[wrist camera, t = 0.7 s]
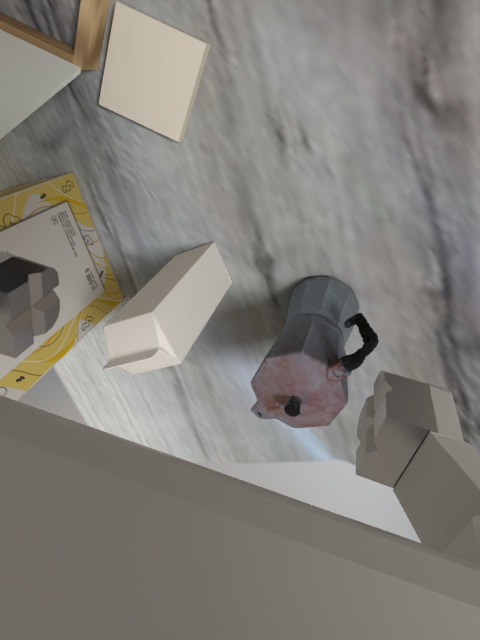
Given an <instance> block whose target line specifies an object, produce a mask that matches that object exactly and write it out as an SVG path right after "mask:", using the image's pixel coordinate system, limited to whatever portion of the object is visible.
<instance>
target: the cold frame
mask: <svg viewBox="0 0 480 640" xmlns="http://www.w3.org/2000/svg"><path fill="white" fill-rule="evenodd" d="M109 1H110V0H81V4H80V11H79V19H78V26H77V34H76V41H75V48H73V47H71V46H69V45H67V44H65V43H63V42H61V41H59V40H56V39H54V38H52V37H50V36H48V35H46V34H44V33H42V32H40V31H38V30H35V29H33V28H31V27H29V26H27V25H25V24H23V23H21V22H19V21H16V20H14V19H12V18H10V17H8V16H6V15H4V14H2V13H0V29H1V30H3V31H5V32H7V33H9V34H11V35H13V36H15V37H18V38H20V39H22V40H24V41H26V42H28V43H30V44H32V45H34V46H36V47H39V48H41V49H43V50H45V51H47V52H49V53H51V54H53V55H55V56H58V57H60V58H62V59H64V60H66V61H68V62H70V63H72V64H74V65H76V66H79V67H81V70H98V68H99V62H100V56H101V50H102V44H103V37H104V31H105V25H106V19H107V13H108V7H109Z"/></svg>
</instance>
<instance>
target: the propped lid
mask: <svg viewBox="0 0 480 640" xmlns="http://www.w3.org/2000/svg"><path fill="white" fill-rule="evenodd" d="M80 73H81V67H79V66H76V65H74V64H72V63H70V62H68V61H66V60H64V59H62V58H60V57H58V56H55V55H53V54H51V53H49V52H47V51H45V50H43V49H41V48H39V47H36V46H34V45H32V44H30V43H28V42H26V41H24V40H22V39H20V38H18V37H15V36H13V35H11V34H9V33H7V32H5V31H3V30H1V29H0V139H1V138H3V137H4V136H5V135H6V134H8V133H9V132H10V131H11V130H12V129H14V128H15V127H16V126H17V125H18V124H20V123H21V122H22V121H23V120H25V119H26V118H27V117H28V116H29V115H31V114H32V113H33V112H34V111H35V110H37V109H38V108H39V107H40V106H42V105H43V104H44V103H45V102H46V101H48V100H49V99H50V98H51V97H52V96H54V95H55V94H56V93H57V92H59V91H60V90H61V89H62V88H63V87H65V86H66V85H67V84H68V83H69V82H71V81H72V80H73V79H74V78H76V77H77V76H78V75H79V74H80Z"/></svg>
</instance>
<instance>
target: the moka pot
mask: <svg viewBox="0 0 480 640" xmlns="http://www.w3.org/2000/svg"><path fill="white" fill-rule="evenodd" d="M358 310H359V305H358V302H357V299H356V297H355V294H354V292H353V291H352V288H351V287H350V286H348V285H347V284H345V283H343V282H342V281H340V280H338V279H335V278H332V277H327V276H320V277H311V278H307V279H305V280H304V281H302V282H301V283H300V284H299V285H298V286H296V287H295V288H294V289H293V290H292V293H291V297H290V303H289V308H288V314H287V320H286V325H285V327H284V329H283V331H282V332H281V334H280V335H279V337H278V338H277V340H276V341H275V343H274V344H273V346H272V348H271V349H270V351H269V352H268V354H267V355H266V357H265V359H264V360H263V362H262V364H261V365H260V367H259V369H258V371H257V372H256V374H255V376H254V377H253V379H252V381H251V385H252V388H253V390H254V392H255V395H256V397H257V402H256V403H255V405H254V406H253V407H252V408H251V411H252V412H253V413H254V414H255V415H256V416H257V417H259V418H261V419H273V418H276V419H278V420H280V421H282V422H284V423H285V424H287V425H289V426H291V427H293V428H304V427H317V426H327V425H329V424H330V423H331V422H332V421H333V420H334V419H335V417H336V416H337V415H338V414H339V413H340V411H341V410H342V409H343V408H344V407H345V406H346V404H347V403H348V386H347V377H348V376H349V375H351V372H352V370H354V369H356V368H358V367H359V366H360V365H361V364H362V363H363V361H364V359H365V357H366V356H367V355H369V354H370V353H371V352H372V351H373V350H374V348H376V346H377V344H378V341H379V340H378V336H377V334H376V333H374V331H373V329H372V328H371V327H370V325H369V323H367V320H366V319H365V317H364V316H363V314H361V313H358ZM355 324H356V325H357V326H358V327H359V333H360V334H361V337H362V338H363V342H364V345H363V347H362V348H361V349H358V350H357V351H356V352H355V353H353V354H351V355H346V353H345V350H344V347H345V343H346V341H347V339H348V337H349V335H350V333H351V331H352V329H353V327H354V325H355Z"/></svg>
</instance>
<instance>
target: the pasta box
mask: <svg viewBox="0 0 480 640" xmlns="http://www.w3.org/2000/svg"><path fill="white" fill-rule="evenodd" d="M0 251H3V252H7V253H10V254H13V255H16V256H18V257H22V258H25V259H28V260H31V261H34V262H37V263H40V264H43V265H46V266H49V267H52V268H54V269H55V270H56V271H57V272H58V277H59V285H58V287H57V288H56V289H55V290H54V291H55V293H56V295H57V296H58V298H59V299H60V311H59V316H58V319H57V320H56V322H55V324H54V326H53V327H52V328H51V329H50V330H49V331H48V332H47V333H45V334H42V335H38V336H34V344H32V345H31V346H30V347H29V348H28V349H26V350H25V351H24V352H23V353H22V354H20V355H19V356H18V357H17V358H12V357H9V356H6V355H3V354H0V395H1V396H4V397H7V398H10V399H12V400H15V401H17V400H18V399H19V398H20V397H21V396H22V395H24V393H26V392H27V391H28V390H29V389H30V388H31V387H32V386H33V385H34V384H35V383H36V382H37V381H38V380H39V379H40V378H41V377H42V376H43V375H44V374H46V372H48V371H49V370H50V369H51V368H52V367H53V366H54V365H55V364H56V363H57V362H58V361H59V360H60V359H61V358H62V357H63V356H65V355H66V354H67V353H68V352H69V351H70V350H71V349H72V348H73V347H74V346H75V345H76V344H77V343H78V342H79V341H80V340H81V339H82V338H83V337H84V336H86V335H87V334H88V333H89V332H90V331H91V330H92V329H93V328H94V327H95V326H96V325H97V324H98V323H99V322H100V321H101V320H102V319H103V318H104V317H105V316H107V315H108V314H109V313H110V312H111V311H112V310H113V309H114V308H115V307H116V306H117V305H118V304H119V303H120V302H121V301H122V300H123V299H124V296H123V293H122V291H121V288H120V286H119V283H118V281H117V278H116V276H115V273H114V271H113V268H112V266H111V264H110V261H109V259H108V256H107V254H106V251H105V249H104V246H103V244H102V241H101V239H100V236H99V234H98V231H97V229H96V226H95V224H94V221H93V219H92V216H91V214H90V211H89V209H88V206H87V204H86V202H85V199H84V197H83V194H82V192H81V189H80V187H79V184H78V182H77V179H76V177H75V174H74V172H70V173H66V174H62V175H58V176H54V177H50V178H46V179H43V180H39V181H35V182H31V183H27V184H23V185H19V186H15V187H11V188H8V189H5V190H3V191H0Z"/></svg>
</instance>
